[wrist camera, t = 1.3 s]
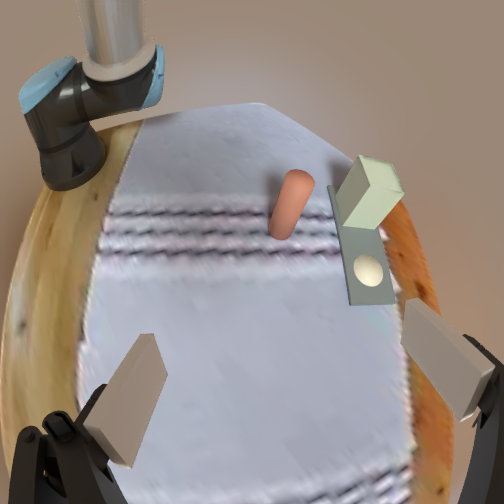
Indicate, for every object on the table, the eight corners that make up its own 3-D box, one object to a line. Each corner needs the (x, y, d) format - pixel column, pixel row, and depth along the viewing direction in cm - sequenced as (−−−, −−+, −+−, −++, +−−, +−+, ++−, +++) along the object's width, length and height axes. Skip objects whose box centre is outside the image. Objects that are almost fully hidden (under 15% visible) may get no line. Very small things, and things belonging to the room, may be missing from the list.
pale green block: (335, 195, 50) (358, 154, 41) (365, 200, 51) (391, 162, 42) (342, 225, 47) (370, 185, 37) (374, 229, 48) (405, 192, 38)
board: (327, 187, 52) (334, 173, 48) (365, 193, 53) (374, 180, 50) (349, 305, 40) (362, 296, 37) (393, 304, 42) (407, 295, 38)
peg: (267, 218, 46) (284, 167, 36) (290, 220, 47) (312, 171, 36) (268, 239, 44) (287, 189, 34) (292, 240, 45) (317, 193, 34)
